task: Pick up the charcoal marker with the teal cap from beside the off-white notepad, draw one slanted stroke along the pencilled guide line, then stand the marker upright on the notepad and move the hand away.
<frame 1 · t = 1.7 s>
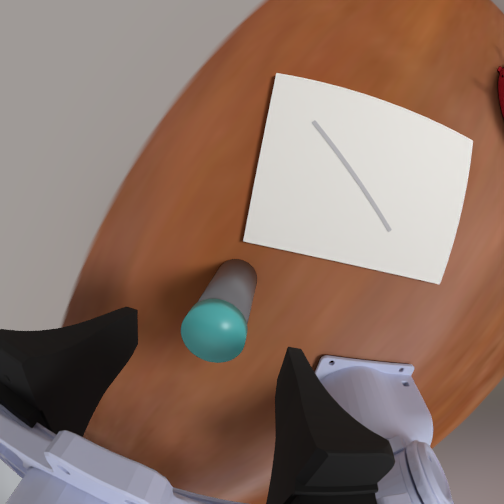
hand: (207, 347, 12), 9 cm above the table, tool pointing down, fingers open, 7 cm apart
notepad: (372, 182, 18), on the table
marker: (236, 278, 21), on the table
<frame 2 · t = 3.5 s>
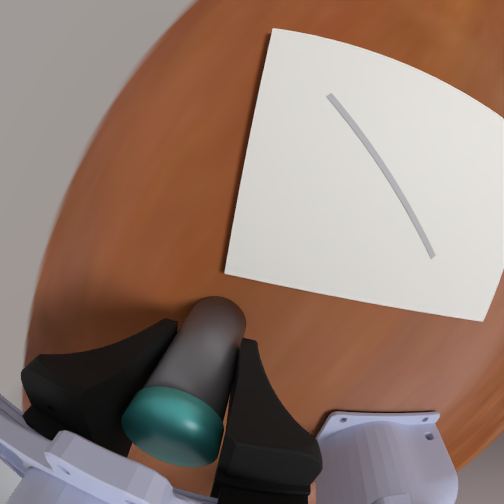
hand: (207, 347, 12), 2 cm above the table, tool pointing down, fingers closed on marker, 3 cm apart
notepad: (412, 186, 12), on the table
marker: (217, 321, 15), on the table, touching gripper
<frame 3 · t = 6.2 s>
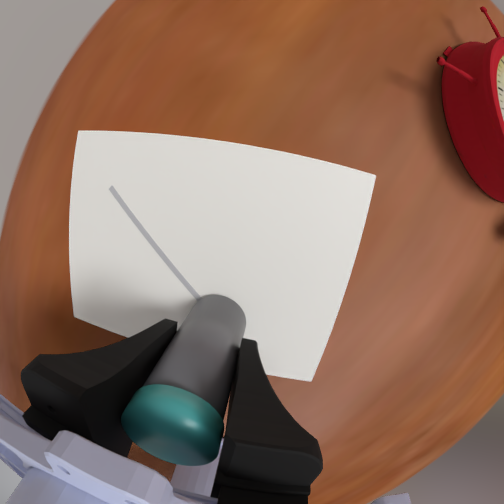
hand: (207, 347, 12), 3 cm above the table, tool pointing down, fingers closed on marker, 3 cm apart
notepad: (191, 257, 14), on the table
marker: (217, 320, 15), point 1 cm above the table, touching gripper
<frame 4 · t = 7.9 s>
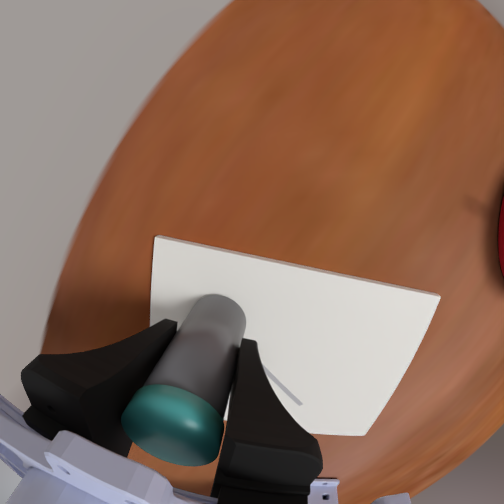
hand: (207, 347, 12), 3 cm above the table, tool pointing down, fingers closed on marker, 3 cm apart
notepad: (282, 361, 16), on the table
marker: (217, 320, 15), point 1 cm above the table, touching gripper
when the fingers open (4 cm above the table, at t = 9.1 s): marker stays where it is, resting on notepad.
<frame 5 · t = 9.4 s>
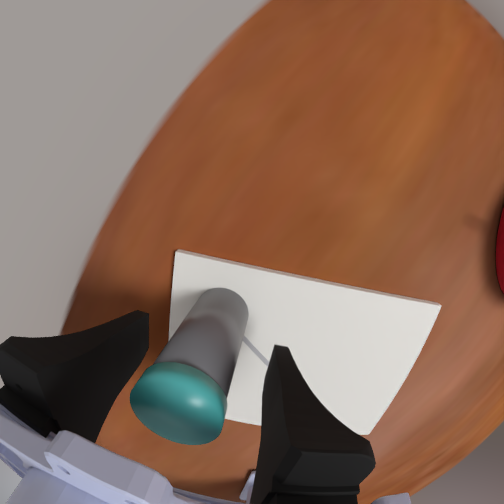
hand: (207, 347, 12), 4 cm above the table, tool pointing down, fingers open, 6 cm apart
notepad: (294, 365, 17), on the table
marker: (221, 312, 15), point 1 cm above the table, touching notepad
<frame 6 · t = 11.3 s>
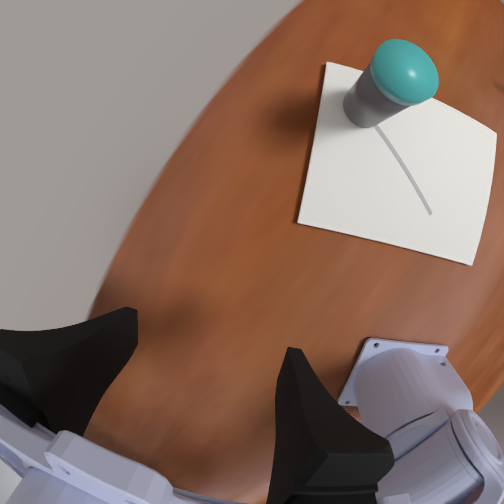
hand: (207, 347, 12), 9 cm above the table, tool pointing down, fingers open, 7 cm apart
notepad: (415, 168, 18), on the table
marker: (363, 107, 16), point 1 cm above the table, touching notepad
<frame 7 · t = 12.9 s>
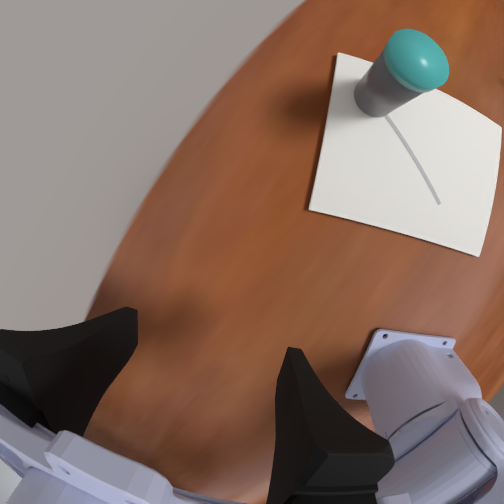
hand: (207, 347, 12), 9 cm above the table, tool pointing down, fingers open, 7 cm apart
notepad: (423, 158, 17), on the table
marker: (373, 97, 16), point 1 cm above the table, touching notepad
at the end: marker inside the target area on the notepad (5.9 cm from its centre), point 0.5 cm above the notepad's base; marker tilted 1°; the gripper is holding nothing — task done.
